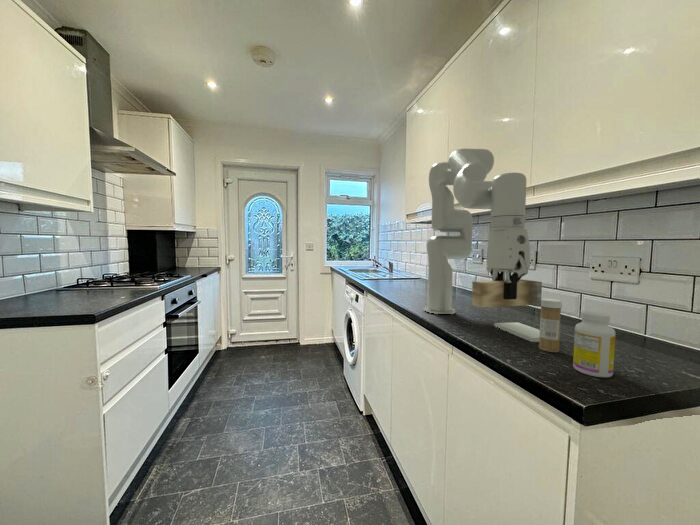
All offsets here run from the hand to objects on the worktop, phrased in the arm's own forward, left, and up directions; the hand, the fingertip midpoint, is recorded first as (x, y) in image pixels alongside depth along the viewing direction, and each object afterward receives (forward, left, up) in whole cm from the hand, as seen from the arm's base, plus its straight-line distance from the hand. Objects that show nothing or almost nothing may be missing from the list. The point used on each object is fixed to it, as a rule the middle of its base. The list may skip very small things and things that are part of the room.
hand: (504, 297), depth 71 cm
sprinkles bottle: (0, +14, -15) cm, 20 cm away
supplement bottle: (+13, +12, -15) cm, 23 cm away
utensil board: (-14, +19, -14) cm, 28 cm away
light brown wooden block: (0, 0, -2) cm, 2 cm away
